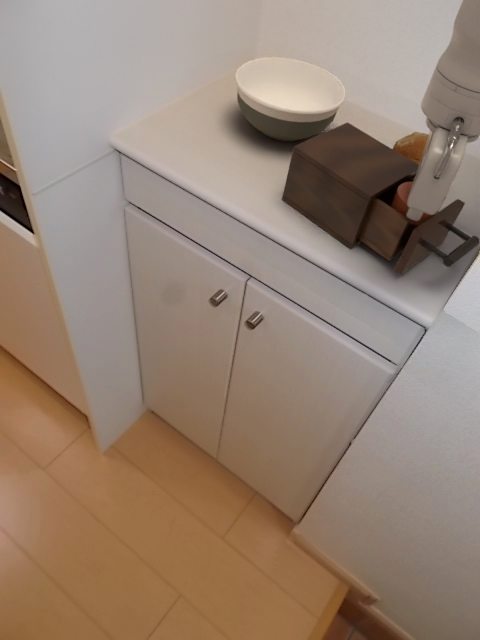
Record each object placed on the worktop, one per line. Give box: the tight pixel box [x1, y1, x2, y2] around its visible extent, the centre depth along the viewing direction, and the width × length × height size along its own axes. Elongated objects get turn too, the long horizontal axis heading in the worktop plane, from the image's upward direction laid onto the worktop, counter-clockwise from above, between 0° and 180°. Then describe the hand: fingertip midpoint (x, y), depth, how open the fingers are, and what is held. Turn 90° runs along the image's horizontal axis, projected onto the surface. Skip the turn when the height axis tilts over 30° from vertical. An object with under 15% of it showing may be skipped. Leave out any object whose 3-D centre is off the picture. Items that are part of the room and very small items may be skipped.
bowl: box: [234, 56, 347, 142], centre depth 90 cm, size 19×19×8 cm
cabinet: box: [281, 122, 419, 250], centre depth 76 cm, size 14×12×9 cm
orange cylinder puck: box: [391, 182, 440, 225], centre depth 70 cm, size 6×6×3 cm
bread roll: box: [392, 131, 429, 165], centre depth 87 cm, size 10×10×8 cm
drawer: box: [357, 176, 480, 276], centre depth 72 cm, size 17×11×7 cm, turn 44°
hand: (417, 201), depth 69 cm, fingers closed on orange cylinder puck, 6 cm apart
